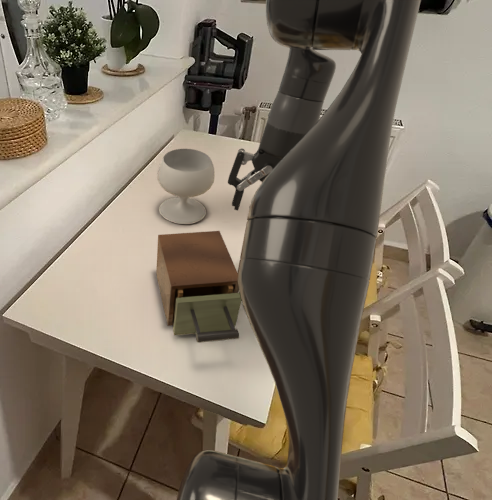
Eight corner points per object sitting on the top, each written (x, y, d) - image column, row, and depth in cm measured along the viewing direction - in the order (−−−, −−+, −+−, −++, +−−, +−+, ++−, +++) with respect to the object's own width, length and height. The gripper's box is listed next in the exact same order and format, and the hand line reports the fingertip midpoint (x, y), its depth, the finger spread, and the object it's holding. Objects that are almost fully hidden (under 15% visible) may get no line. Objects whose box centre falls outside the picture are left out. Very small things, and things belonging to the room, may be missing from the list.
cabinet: (232, 320, 84) (241, 280, 77) (167, 325, 83) (171, 286, 76) (213, 269, 95) (219, 230, 88) (156, 273, 94) (158, 234, 87)
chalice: (147, 201, 115) (149, 150, 105) (195, 192, 119) (200, 142, 109) (168, 232, 105) (171, 178, 95) (218, 221, 109) (227, 169, 99)
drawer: (245, 360, 76) (255, 327, 70) (181, 366, 75) (185, 334, 69) (216, 280, 91) (221, 247, 85) (162, 284, 90) (164, 252, 84)
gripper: (245, 119, 66) (218, 212, 74) (339, 141, 64) (301, 234, 72) (248, 110, 73) (222, 197, 81) (333, 130, 71) (298, 217, 79)
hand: (259, 214), depth 77 cm, fingers open, 8 cm apart
